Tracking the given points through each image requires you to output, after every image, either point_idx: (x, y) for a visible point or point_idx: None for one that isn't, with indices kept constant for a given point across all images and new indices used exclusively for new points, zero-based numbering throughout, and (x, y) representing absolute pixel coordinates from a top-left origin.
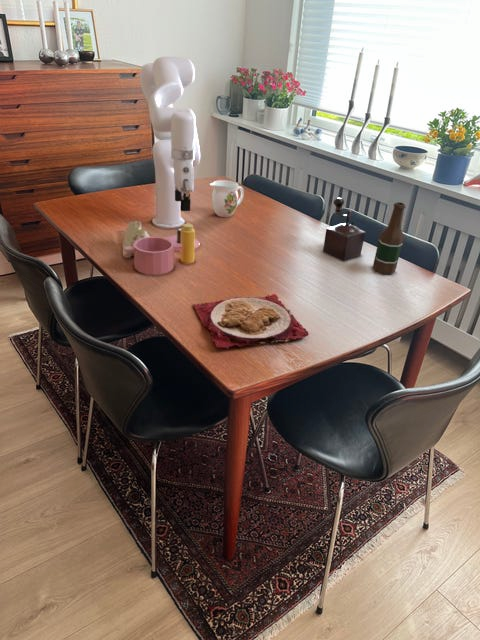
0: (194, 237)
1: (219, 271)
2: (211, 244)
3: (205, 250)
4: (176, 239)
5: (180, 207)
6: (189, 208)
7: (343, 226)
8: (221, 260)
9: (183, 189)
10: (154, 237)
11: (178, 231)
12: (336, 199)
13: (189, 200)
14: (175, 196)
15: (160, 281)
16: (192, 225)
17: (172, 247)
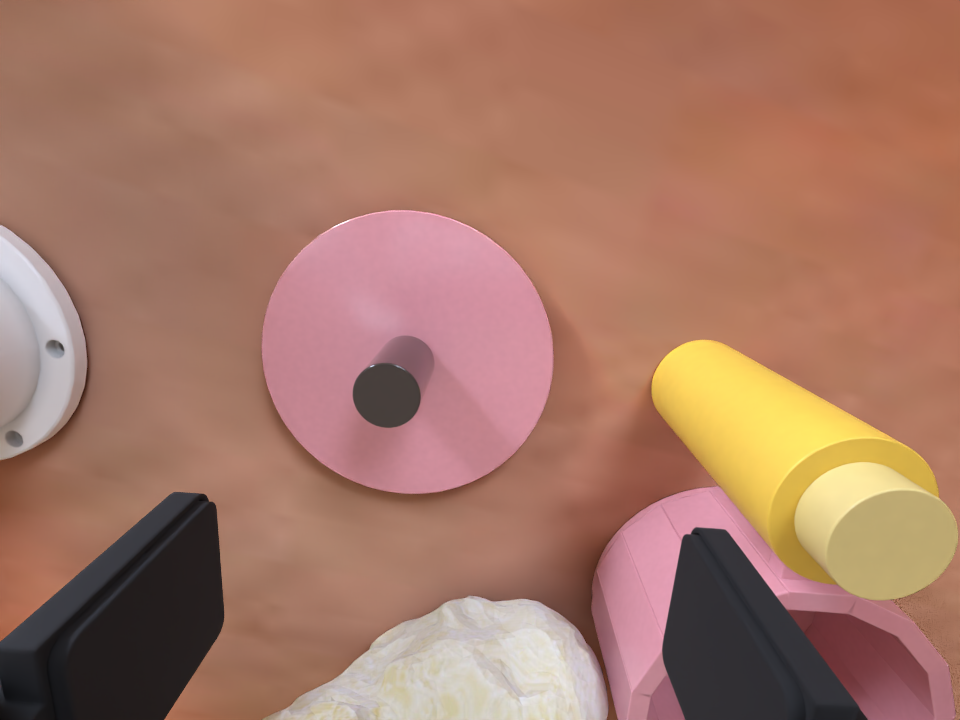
0: (851, 415)
1: (933, 206)
2: (434, 102)
3: (542, 194)
4: (348, 378)
5: (686, 702)
6: (735, 559)
7: None
8: (760, 122)
9: (11, 666)
10: (649, 696)
11: (410, 419)
12: None
13: (832, 697)
14: (171, 693)
15: (900, 598)
16: (922, 495)
17: (905, 620)
